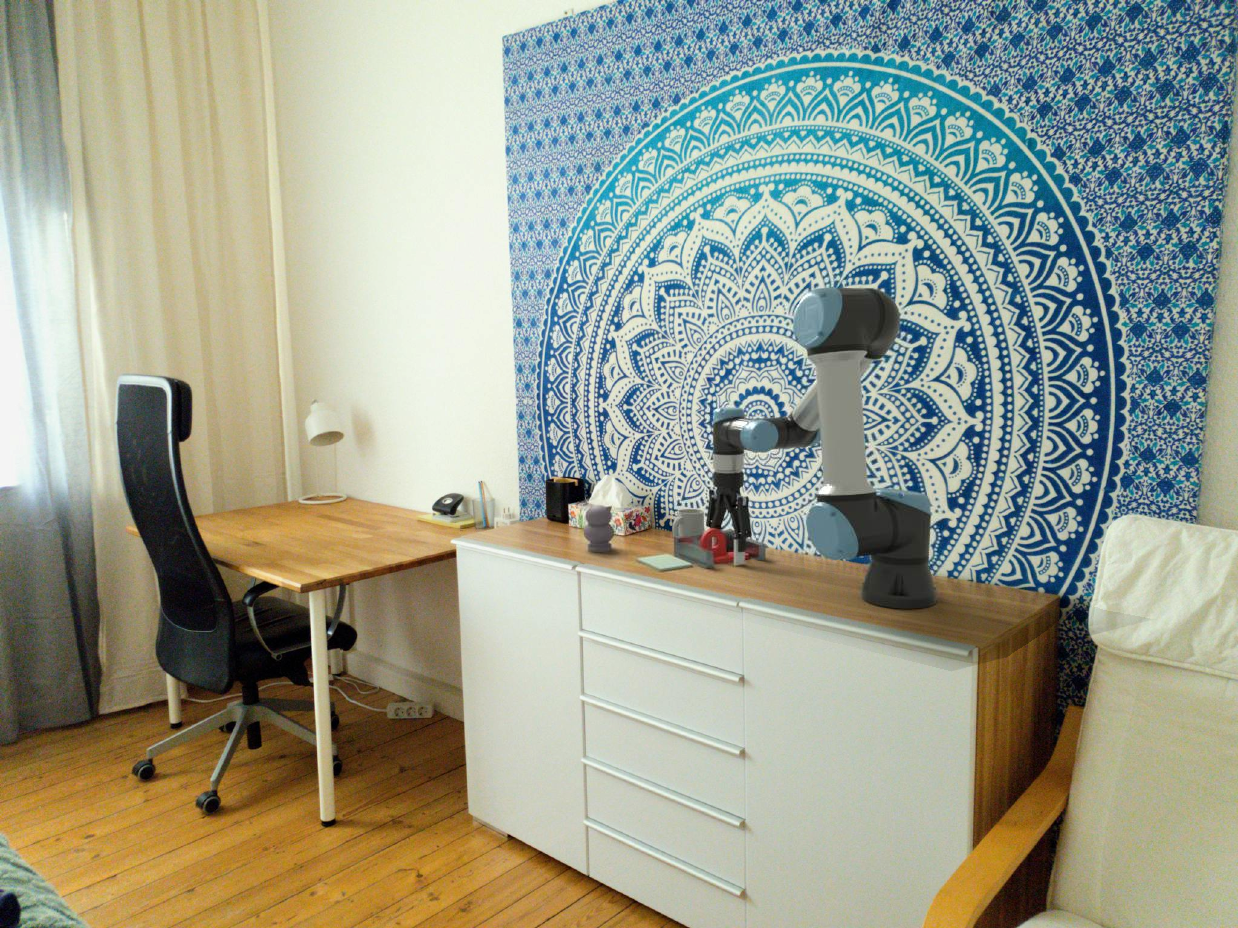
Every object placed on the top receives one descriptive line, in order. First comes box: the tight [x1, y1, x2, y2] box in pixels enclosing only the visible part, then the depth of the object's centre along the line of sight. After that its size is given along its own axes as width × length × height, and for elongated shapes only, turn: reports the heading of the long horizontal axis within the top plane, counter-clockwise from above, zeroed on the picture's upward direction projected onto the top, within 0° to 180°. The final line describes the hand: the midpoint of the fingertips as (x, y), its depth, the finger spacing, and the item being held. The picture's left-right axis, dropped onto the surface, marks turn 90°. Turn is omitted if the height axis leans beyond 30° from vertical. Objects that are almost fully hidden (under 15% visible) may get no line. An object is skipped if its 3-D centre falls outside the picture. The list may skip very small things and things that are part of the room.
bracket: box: [700, 528, 750, 565], centre depth 220 cm, size 12×4×8 cm, turn 116°
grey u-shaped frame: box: [673, 528, 767, 569], centre depth 224 cm, size 20×18×5 cm
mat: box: [636, 553, 694, 572], centre depth 217 cm, size 12×9×1 cm
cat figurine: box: [583, 503, 615, 553], centre depth 233 cm, size 8×8×12 cm
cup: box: [672, 508, 705, 538], centre depth 237 cm, size 7×10×9 cm
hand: (728, 560), depth 219 cm, fingers open, 9 cm apart
